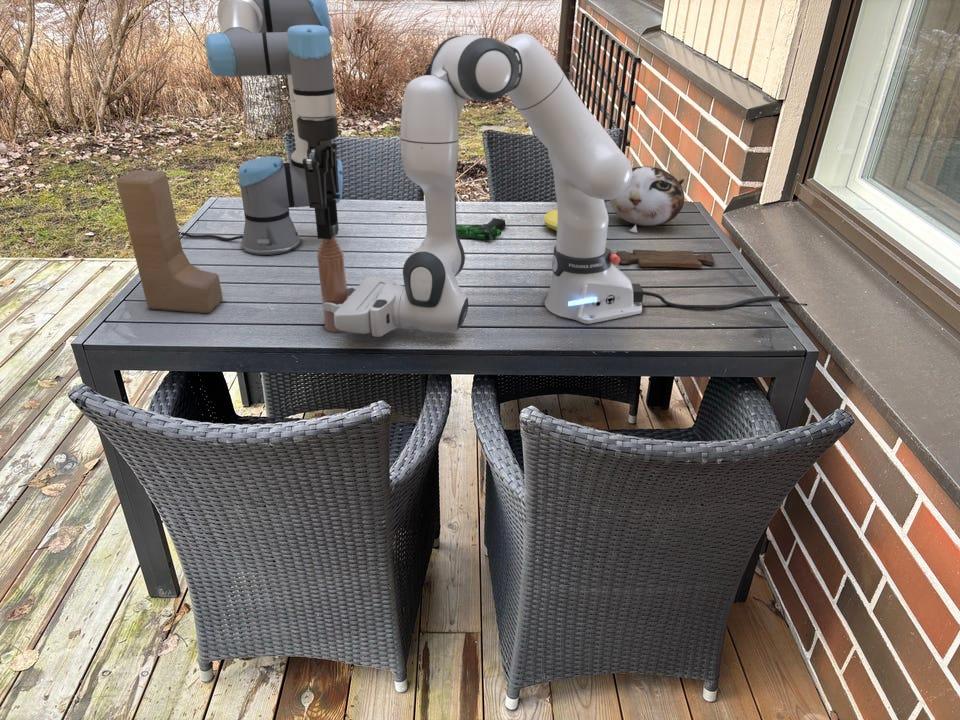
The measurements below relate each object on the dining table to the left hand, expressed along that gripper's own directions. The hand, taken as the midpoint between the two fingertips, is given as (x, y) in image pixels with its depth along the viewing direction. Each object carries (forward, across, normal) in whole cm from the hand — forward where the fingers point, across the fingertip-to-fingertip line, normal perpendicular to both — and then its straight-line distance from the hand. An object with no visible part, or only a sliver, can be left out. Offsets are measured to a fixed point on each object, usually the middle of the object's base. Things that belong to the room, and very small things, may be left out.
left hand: (328, 234), depth 146 cm
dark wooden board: (+21, -49, +75) cm, 92 cm away
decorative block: (+21, -4, -37) cm, 43 cm away
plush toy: (+21, -77, +70) cm, 106 cm away
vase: (+21, -70, +49) cm, 88 cm away
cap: (-2, 0, 0) cm, 2 cm away
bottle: (+21, 0, 0) cm, 21 cm away
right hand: (+15, 0, -1) cm, 15 cm away
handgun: (+21, -62, +22) cm, 69 cm away
